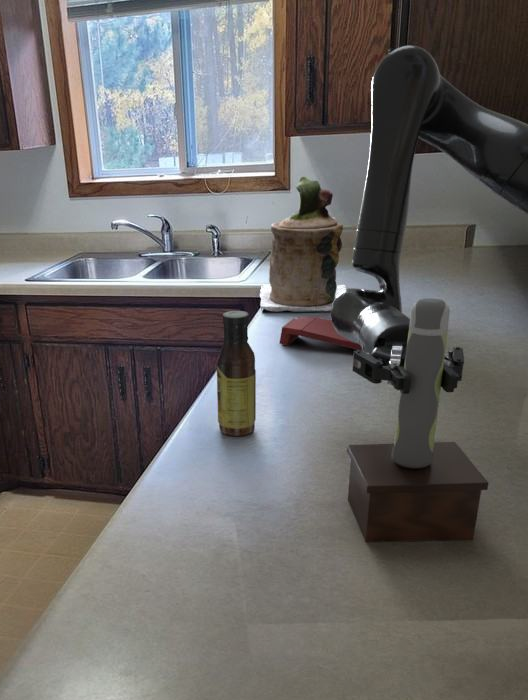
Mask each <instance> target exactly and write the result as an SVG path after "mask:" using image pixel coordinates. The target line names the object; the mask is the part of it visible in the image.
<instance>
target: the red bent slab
mask: <svg viewBox="0 0 528 700" xmlns="http://www.w3.org/2000/svg"><path fill="white" fill-rule="evenodd" d="M299 337H303V338H306V339H307V338H308V339H311V340H315V341H319V342H322V343H323V342H324V343H328V344H332V345H337V346H340V347H345V348H348V349H353V350H355V351H357V350H360V351H363V350H362V347H361V346H360V344H358V343H355V342H352V341H350V340H348V339H346V338H344V337H342V336H341V335H340V334H338V333H337V332H336V330H335V329H334V327H333V324H332V321H331V319H327V318H324V317H319V316H302V317H301V316H298V317H297V318H292V319H290V320H289V321H288V322H287V323H286V324H284V325H283V326H281V332H280V338H279V344H280V345H284V346H289V345H290V344H291V343H293V342H294V341H295V340H296V339H297V338H299Z"/></svg>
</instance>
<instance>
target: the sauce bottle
mask: <svg viewBox="0 0 528 700" xmlns="http://www.w3.org/2000/svg"><path fill="white" fill-rule="evenodd" d="M249 315H250V314H249V312H247V311H243V310H230V311H225V312H224V313H223V314H222V324H223V338H222V339H223V340H222V341H223V343H222V346H221V348H220V351H219V354H218V357H217V360H216V387H217V388H216V391H217V394H216V395H217V422H218V427H219V430H220V432H221V433H222V434H224V435H228V436H232V437H234V436H235V437H243V436H244V437H245V436H247V435H249V434H251V433H253V432H254V431H255V429H256V425H255V424H256V423H255V422H256V420H257V419H256V417H257V415H256V413H257V410H256V409H257V408H256V405H257V403H256V401H257V399H256V398H257V397H256V396H257V394H256V393H257V391H256V388H257V387H256V386H257V385H256V384H257V383H256V381H257V380H256V379H257V377H256V375H257V374H256V373H257V371H256V355H255V352H254V350H253V348H252V347H251V345H250V344H249V342H248V341H249V336H248V334H249V333H248V325H249V321H250V317H249Z"/></svg>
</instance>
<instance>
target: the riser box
mask: <svg viewBox="0 0 528 700" xmlns="http://www.w3.org/2000/svg"><path fill="white" fill-rule="evenodd" d="M393 445H394V443H371V444H370V443H369V444H347V446H346V453H347V455H348V457H349V459H350V464H349V465H350V466H349V477H348V480H349V481H348V493H347V501H348V504H349V506H350V508H351V511H352V513H353V516H354V518H355V520H356V522H357V525H358V528H359V530H360V532H361V535H362V537H363V539H364V542H365V543H387V542H388V543H390V542H391V543H392V542H429V541H432V542H433V541H434V542H435V541H466V540H467V541H468V540H474V537H475V531H476V526H477V518H478V512H479V506H480V500H481V495H482V491H487V490H488V489H489V481H488V480H487V478H485V476H484V475H483V474H482V472H481V471H480V470H479V469H478V468H477V466H476V465H475V464H474V463H473V462H472V460H471V459H470V458H469V457H468V456H467V455H466V453H465V452H464V451H463V450H462V448H461V447H460V446H459V444H457V442H456V441H437V442H435V441H434V455H433V461H432V463H431V464H430V465H429V466H427V467H424V468H416V469H414V468H406V467H403V466H400V465H398V464H396V463H395V462H394V461H393V459H392V450H393Z"/></svg>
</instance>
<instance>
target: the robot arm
mask: <svg viewBox="0 0 528 700" xmlns="http://www.w3.org/2000/svg"><path fill="white" fill-rule="evenodd" d="M440 72H441V71H440V69H439V66H438V64H437V62H436V60H435V58H434V57H433V56H432V54H431V53H430V52H429V51H427V50H426V49H424V48H423V47H420V46H418V45H412V44H408V45H402V46H399V47H397V48H395V49H392V50H391V51H390V52H389V53H387V54H386V55H385V56H384V57H383V59H382V60H381V61H380V62H379V64H378V65H377V67H376V68H375V71H374V74H373V76H372V80H371V85H370V88H371V89H370V93H371V133H370V144H369V146H370V147H369V155H368V165H367V171H366V178H365V182H364V189H363V195H362V200H361V204H360V210H359V215H358V221H357V227H356V232H355V239H354V244H353V251H352V256H351V265H352V268H353V269H354V270H355V271H357V272H360V273H362V274H367V275H369V276H372V277H374V278H375V279H376V281H377V283H378V286H379V290H373V289H364V288H353V287H352V288H346V290H343V291H342V292H340V293H339V294H338V295H337V296H336V298H335V299H334V301H333V303H332V306H331V311H330V320H331V321H332V324H333V327H334V329H335V330H336V332H337V333H338V334H340V335H341V336H342V337H344V338H346V339H348V340H350V341H352V342H355V343H358V344H360V346H361V347H362V350H363V351H360V350H354V351H353V359H352V372H353V373H355V374H357V375H359V376H360V377H362V378H363V379H365V380H367V381H368V382H370V383H372V384H375V385H379V384H382V381H387V385H390V386H392V387H393V389H395V390H396V391H399V392H400V394H401V393H402V394H409V391H410V382H411V377H410V375H409V373H408V372H407V371H406V370H405V369H404V364H405V356H406V348H407V341H408V333H409V325H410V317H409V316H408V315H406V314H404V313H403V305H402V296H401V285H400V264H401V256H402V251H403V245H404V241H405V235H406V229H407V222H408V215H409V205H410V198H411V197H410V195H411V183H412V174H413V167H414V166H413V165H414V160H415V159H414V158H415V154H416V148H417V145H418V140H419V139H420V140H422V141H423V142H425V143H427V144H429V145H431V146H433V147H434V148H436V149H438V151H439V150H440V151H441V152H443V154H446V155H447V156H448V157H450V158H451V159H452V160H453V161H454V162H455V163H456V164H458V165H459V166H460V167H461V168H462V169H463V170H464V171H466V172H467V173H468V174H469V175H470V176H471V177H473V178H474V179H475V180H477V181H478V182H479V183H480V184H482V185H483V186H485V187H486V188H487V189H489V190H490V191H491V192H492V193H494V194H495V195H497V196H498V197H499V198H501V199H502V200H503V201H505V202H507V203H508V204H509V205H511V206H513V207H514V208H516V209H517V210H519V211H521V212H522V213H523V214H526V215H528V123H526V122H523V121H521V120H519V119H516V118H513V117H512V116H508V115H505V114H503V113H499V112H497V111H494V110H491V109H489V108H486V107H484V106H482V105H480V104H478V103H477V102H476V101H474V100H472V99H471V98H470V97H468V96H467V95H465V94H464V93H463V92H462V91H461V90H459V89H458V88H456V87H455V86H454V85H453V84H452V83H450V82H449V81H448V80H447V79H446V78H444V76H443V75H442V74H441V73H440ZM464 365H465V355H464V349H463V347H460V346H456V347H453V348H452V349H450V350H448V352H445V357H444V365H443V373H442V381H441V389H442V390H444V391H445V393H454V392H455V389H457V388H458V385H459V384H458V383H459V382H462V380H463V369H464Z"/></svg>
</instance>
